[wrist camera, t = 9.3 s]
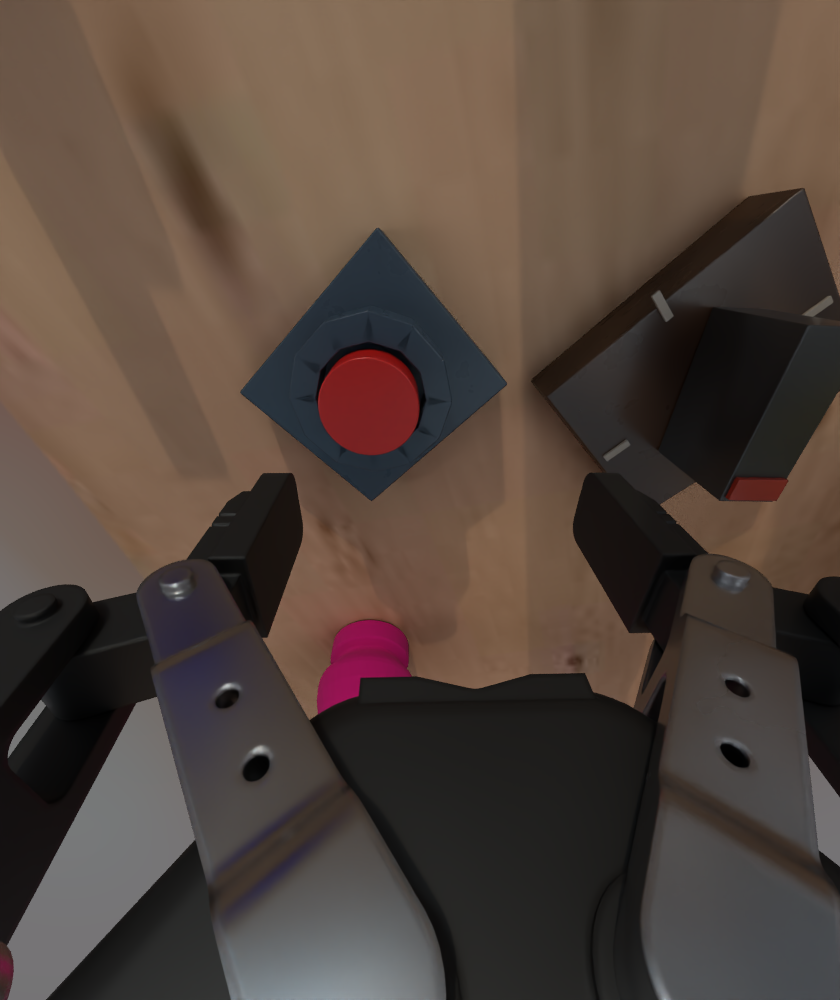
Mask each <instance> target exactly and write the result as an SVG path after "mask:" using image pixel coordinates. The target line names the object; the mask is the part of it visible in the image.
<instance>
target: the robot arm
mask: <svg viewBox="0 0 840 1000" xmlns="http://www.w3.org/2000/svg"><path fill="white" fill-rule="evenodd" d="M573 533H574V538H575V541H576V543H577V544H578V546H579V548H580V550H581V551H582V553H583V555H584V556H585V558H586V560H587V562H588V563H589V565H590V567H591V568H592V570H593V572H594V573H595V575H596V577H597V579H598V580H599V582H600V584H601V585H602V587H603V589H604V591H605V592H606V594H607V596H608V597H609V599H610V601H611V602H612V604H613V606H614V608H615V609H616V611H617V613H618V614H619V616H620V618H621V620H622V621H623V623H624V625H625V626H626V628H627V630H628V631H629V633H652V635H653V636H654V640H653V642H652V644H651V646H650V649H649V652H648V656H647V660H646V663H645V667H644V671H643V675H642V678H641V682H640V686H639V690H638V693H637V697H636V701H635V705H634V708H632V707H630V706H629V705H627V704H625V703H622V702H620V701H618V700H615V699H613V698H610V697H607V696H604V695H601V694H598V693H594V692H593V691H592V689H591V686H590V684H589V682H588V679H587V677H586V675H585V673H570V674H530V675H526V676H523V677H519V678H516V679H512V680H508V681H505V682H501V683H498V684H494V685H491V686H487V687H484V688H479V689H471V688H466V687H462V686H457V685H453V684H448V683H443V682H439V681H434V680H430V679H425V678H421V677H366V678H360V687H359V696H357V697H353V698H350V699H347V700H345V701H342V702H340V703H337V704H335V705H333V706H331V707H329V708H328V709H326V710H324V711H322V712H321V713H319V714H318V715H316V716H315V717H313V718H312V719H311V720H309V719H308V717H307V716H306V714H305V712H304V710H303V709H302V707H301V705H300V703H299V702H298V700H297V698H296V696H295V695H294V693H293V691H292V689H291V688H290V686H289V684H288V682H287V681H286V679H285V677H284V675H283V674H282V672H281V670H280V669H279V667H278V665H277V663H276V662H275V660H274V658H273V656H272V655H271V653H270V651H269V649H268V648H267V646H266V644H265V642H264V641H263V639H262V638H267V637H268V634H269V632H270V629H271V626H272V623H273V621H274V618H275V615H276V612H277V609H278V607H279V604H280V601H281V598H282V595H283V593H284V590H285V587H286V584H287V581H288V579H289V576H290V573H291V570H292V568H293V565H294V562H295V559H296V556H297V554H298V551H299V548H300V545H301V542H302V536H303V522H302V516H301V510H300V504H299V499H298V493H297V487H296V482H295V478H294V476H293V474H292V473H263V474H262V475H261V476H260V478H259V479H258V481H257V482H256V484H255V485H254V487H253V489H252V490H251V491H243V492H241V493H240V494H238V495H237V496H235V497H234V498H232V499H231V500H229V501H228V502H227V503H226V505H225V506H224V508H223V509H222V510H221V512H220V513H219V516H217V517H216V519H215V520H214V522H213V523H212V527H209V529H208V530H207V531H206V533H205V534H204V536H203V537H202V538H201V540H200V541H199V543H198V544H197V545H196V547H195V548H194V550H193V551H192V552H191V554H190V555H189V557H188V558H187V559H186V560H182V561H177V562H174V563H171V564H168V565H166V566H164V567H162V568H160V569H158V570H156V571H155V572H153V573H152V574H150V575H149V576H148V577H147V578H146V579H145V580H144V581H143V582H142V583H141V584H140V586H139V588H138V590H137V592H136V593H133V594H128V595H124V596H119V597H115V598H110V599H106V600H101V601H97V602H92V601H91V599H90V597H89V596H88V594H87V592H86V591H85V589H83V588H82V587H80V586H77V585H57V586H52V587H48V588H44V589H41V590H38V591H35V592H32V593H30V594H28V595H25V596H23V597H21V598H20V599H18V600H16V601H15V602H13V603H11V604H9V605H8V606H7V607H5V608H4V609H2V610H1V611H0V1000H7V999H8V996H9V992H10V989H11V985H12V980H13V972H14V969H13V968H14V967H13V958H12V955H11V951H10V950H9V948H8V947H7V944H8V943H9V941H10V939H11V937H12V935H13V933H14V931H15V929H16V927H17V926H18V923H19V922H20V920H21V918H22V916H23V914H24V913H25V910H26V909H27V907H28V905H29V903H30V901H31V899H32V898H33V896H34V894H35V892H36V890H37V888H38V886H39V884H40V883H41V881H42V879H43V877H44V875H45V873H46V871H47V869H48V868H49V866H50V864H51V862H52V860H53V858H54V856H55V854H56V852H57V851H58V849H59V847H60V845H61V843H62V841H63V839H64V838H65V836H66V834H67V832H68V830H69V828H70V826H71V824H72V823H73V821H74V819H75V817H76V815H77V813H78V811H79V809H80V808H81V806H82V804H83V802H84V800H85V798H86V796H87V794H88V793H89V791H90V789H91V787H92V785H93V783H94V781H95V779H96V778H97V776H98V774H99V772H100V770H101V768H102V766H103V764H104V763H105V761H106V758H107V757H108V755H109V753H110V751H111V749H112V747H113V746H114V744H115V742H116V740H117V738H118V736H119V734H120V732H121V730H122V729H123V727H124V725H125V723H126V721H127V719H128V717H129V715H130V714H131V712H132V710H133V708H134V706H135V704H136V703H137V702H141V701H144V700H147V699H151V698H154V697H157V698H158V701H159V705H160V709H161V713H162V716H163V720H164V724H165V728H166V731H167V735H168V739H169V743H170V746H171V750H172V754H173V758H174V761H175V765H176V769H177V772H178V776H179V780H180V784H181V788H182V791H183V795H184V799H185V802H186V806H187V810H188V814H189V818H190V821H191V825H192V829H193V832H194V836H195V841H194V842H193V843H192V844H191V845H190V846H189V847H188V848H187V849H186V850H185V851H184V852H183V853H182V855H180V857H179V858H178V859H177V860H176V861H175V862H174V863H173V864H172V865H171V866H170V867H169V868H168V869H167V871H166V872H165V873H164V874H163V875H162V876H161V877H160V878H159V879H158V880H157V881H156V882H155V884H153V886H152V887H151V888H150V889H149V890H148V891H147V892H146V893H145V894H144V895H143V896H142V897H141V898H140V899H139V901H138V902H137V903H136V904H135V905H134V906H133V907H132V908H131V909H130V910H129V911H128V912H127V913H126V915H125V916H124V917H123V918H122V919H121V920H120V921H119V922H118V923H117V924H116V925H115V926H114V927H113V929H112V930H111V931H110V932H109V933H108V934H107V935H106V936H105V937H104V938H103V939H102V940H101V941H100V942H99V943H98V945H97V946H96V947H95V948H94V949H93V950H92V951H91V952H90V953H89V954H88V955H87V956H86V957H85V959H84V960H83V961H82V962H81V963H80V964H79V965H78V966H77V967H76V968H75V969H74V970H73V972H71V974H70V975H69V976H68V977H67V978H66V979H65V980H64V981H63V982H62V983H61V984H60V985H59V986H58V987H57V989H56V990H55V991H54V992H53V993H52V994H51V995H50V996H49V997H48V998H47V999H46V1000H840V867H839V866H838V865H837V864H836V863H834V862H833V861H832V860H830V859H829V858H828V857H827V856H825V855H824V854H823V853H821V852H820V851H819V850H818V841H817V833H816V822H815V813H814V804H813V795H812V786H811V777H810V768H809V758H808V755H809V756H810V758H811V759H812V760H813V762H814V763H815V764H816V766H817V767H818V769H819V770H820V771H821V773H822V774H823V775H824V777H825V778H826V779H827V781H828V782H829V783H830V785H831V786H832V787H833V789H834V790H835V791H836V793H837V794H838V795H839V797H840V577H825V578H822V579H820V580H819V581H818V583H817V584H816V585H815V587H814V588H813V590H812V591H811V592H810V594H804V593H798V592H793V591H788V590H783V589H778V588H773V587H772V585H771V583H770V582H769V581H768V579H767V578H766V577H765V576H764V575H763V574H761V573H760V572H759V571H757V570H756V569H754V568H753V567H751V566H749V565H747V564H746V563H743V562H741V561H739V560H736V559H733V558H730V557H727V556H723V555H717V554H708V553H707V552H706V551H705V550H704V549H703V548H702V547H701V546H700V545H699V544H698V543H697V542H696V541H695V540H694V539H693V538H692V537H691V536H690V535H689V534H688V533H687V532H686V531H685V530H684V529H683V528H682V527H681V526H680V525H679V524H676V521H675V520H674V519H673V518H672V517H671V516H670V515H669V514H666V511H665V510H664V509H663V508H662V507H661V506H660V505H659V504H658V503H657V502H656V501H655V500H654V499H652V498H650V497H648V496H647V495H645V494H643V493H641V492H640V491H638V490H635V489H634V488H633V487H632V486H631V485H630V484H629V483H628V482H627V481H626V480H625V479H624V478H623V477H622V475H620V474H619V473H589V474H587V476H586V477H585V479H584V482H583V486H582V490H581V494H580V497H579V501H578V505H577V509H576V513H575V517H574V521H573ZM40 700H42V701H43V702H44V703H45V705H46V707H45V708H44V710H43V711H42V712H41V714H40V715H39V716H38V718H37V719H36V720H35V722H34V723H33V725H32V726H31V727H30V729H29V730H28V732H27V733H26V734H25V736H24V737H23V738H22V740H21V741H20V742H19V744H18V745H17V747H16V748H15V750H14V751H13V752H12V754H11V755H10V756H9V758H8V750H9V746H10V744H11V741H12V739H13V737H14V735H15V734H16V732H17V731H18V729H19V728H20V727H21V725H22V724H23V723H24V721H25V720H26V719H27V717H28V716H29V715H30V713H31V712H32V710H33V709H34V708H35V706H36V705H37V704H38V703H39V701H40Z"/></svg>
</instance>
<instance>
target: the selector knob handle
mask: <svg viewBox="0 0 840 1000" xmlns="http://www.w3.org/2000/svg"><path fill="white" fill-rule="evenodd" d="M839 389H840V321H836V320H830V319H824V318H818V317H812V316H806V315H800V314H793V313H787V312H781V311H775V310H769V309H757V308H729V307H713V309H712V311H711V314H710V317H709V319H708V322H707V325H706V327H705V330H704V332H703V335H702V338H701V340H700V343H699V346H698V348H697V351H696V353H695V356H694V359H693V361H692V364H691V366H690V369H689V372H688V374H687V377H686V380H685V382H684V385H683V387H682V390H681V393H680V395H679V398H678V400H677V403H676V406H675V408H674V411H673V414H672V416H671V419H670V421H669V424H668V427H667V429H666V432H665V434H664V437H663V440H662V442H661V445H660V448H659V450H658V452H660V453H661V454H662V455H663V456H664V457H666V458H667V459H668V460H669V461H671V462H672V463H673V464H674V465H676V466H677V467H678V468H679V469H681V470H682V471H683V472H684V473H686V474H687V475H688V476H689V477H691V478H692V479H693V480H694V481H696V482H697V483H698V484H699V485H701V486H702V487H703V488H704V489H706V490H707V491H708V492H709V493H711V494H712V495H713V496H714V497H716V498H717V499H718V500H719V501H764V502H772V501H777V499H778V498H779V496H780V494H781V493H782V491H783V489H784V488H785V486H786V484H787V482H788V480H787V477H788V475H789V474H790V472H791V470H792V469H793V467H794V465H795V464H796V462H797V460H798V458H799V457H800V455H801V453H802V452H803V450H804V448H805V447H806V445H807V443H808V442H809V440H810V438H811V436H812V435H813V433H814V431H815V430H816V428H817V426H818V425H819V423H820V421H821V420H822V418H823V416H824V415H825V413H826V411H827V409H828V408H829V406H830V404H831V403H832V401H833V399H834V398H835V396H836V394H837V393H838V391H839Z"/></svg>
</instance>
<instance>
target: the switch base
mask: <svg viewBox="0 0 840 1000" xmlns="http://www.w3.org/2000/svg"><path fill="white" fill-rule="evenodd" d="M713 307H729V308H757V309H769V310H775V311H781V312H787V313H793V314H800V315H806V316H812V317H818V318H824V319H830V320H836V321H840V296H839V293H838V290H837V287H836V284H835V281H834V278H833V275H832V272H831V269H830V266H829V263H828V260H827V257H826V253H825V250H824V247H823V244H822V241H821V238H820V235H819V232H818V229H817V226H816V223H815V220H814V217H813V214H812V210H811V207H810V204H809V201H808V198H807V195H806V192H805V189H804V188H799V189H793V190H787V191H780V192H774V193H767V194H761V195H755V196H749V197H748V198H747V199H745V200H744V201H743V202H742V203H741V204H739V205H738V206H737V207H736V208H735V209H734V210H732V211H731V212H730V213H729V214H728V215H726V216H725V217H724V218H723V219H722V220H721V221H719V222H718V223H717V224H716V225H715V226H713V227H712V228H711V229H710V230H709V231H708V232H706V233H705V234H704V235H703V236H702V237H700V238H699V239H698V240H697V241H696V242H694V243H693V244H692V245H691V246H690V247H689V248H687V249H686V250H685V251H684V252H683V253H681V254H680V255H679V256H678V257H677V258H676V259H674V260H673V261H672V262H671V263H670V264H668V265H667V266H666V267H665V268H664V269H662V270H661V271H660V272H659V273H658V274H657V275H655V276H654V277H653V278H652V279H651V280H649V281H648V282H647V283H646V284H645V285H644V286H642V287H641V288H640V289H639V290H638V291H636V292H635V293H634V294H633V295H632V296H631V297H629V298H628V299H627V300H626V301H625V302H623V303H622V304H621V305H620V306H619V307H617V308H616V309H615V310H614V311H613V312H612V313H610V314H609V315H608V316H607V317H606V318H604V319H603V320H602V321H601V322H600V323H599V324H597V325H596V326H595V327H594V328H593V329H591V330H590V331H589V332H588V333H587V334H585V335H584V336H583V337H582V338H581V339H580V340H578V341H577V342H576V343H575V344H574V345H572V346H571V347H570V348H569V349H568V350H567V351H565V352H564V353H563V354H562V355H561V356H559V357H558V358H557V359H556V360H555V361H554V362H552V363H551V364H550V365H549V366H548V367H546V368H545V369H544V370H543V371H542V372H540V373H539V374H538V375H537V376H536V377H535V378H533V379H532V380H531V382H532V383H533V384H534V386H535V387H536V388H537V389H538V391H539V392H540V393H541V395H542V396H543V397H544V398H545V400H546V401H547V402H548V403H549V405H550V406H551V407H552V408H553V410H554V411H555V412H556V414H557V415H558V416H559V417H560V419H561V420H562V421H563V422H564V424H565V425H566V426H567V427H568V429H569V430H570V431H571V433H572V434H573V435H574V436H575V438H576V439H577V440H578V441H579V443H580V444H581V445H582V446H583V448H584V449H585V450H586V452H587V453H588V454H589V455H590V457H591V458H592V459H593V460H594V462H595V463H596V464H597V465H598V467H599V468H600V469H601V471H602V472H603V473H619V474H620V475H622V477H623V478H624V479H625V480H626V481H627V482H628V483H629V484H630V485H631V486H632V487H633V488H634V489H635V490H638V491H640V492H641V493H643V494H645V495H647V496H648V497H650V498H652V499H654V500H655V501H656V502H657V503H658V504H659V505H660V504H661V503H663V502H664V501H666V500H668V499H669V498H671V497H672V496H674V495H675V494H677V493H679V492H680V491H682V490H683V489H685V488H687V487H688V486H690V485H691V484H693V483H695V482H696V481H694V480H693V479H692V478H691V477H689V476H688V475H687V474H686V473H684V472H683V471H682V470H681V469H679V468H678V467H677V466H676V465H674V464H673V463H672V462H671V461H669V460H668V459H667V458H666V457H664V456H663V455H662V454H661V453H660V452H658V450H659V448H660V445H661V442H662V440H663V437H664V434H665V432H666V429H667V427H668V424H669V421H670V419H671V416H672V414H673V411H674V408H675V406H676V403H677V400H678V398H679V395H680V393H681V390H682V387H683V385H684V382H685V380H686V377H687V374H688V372H689V369H690V366H691V364H692V361H693V359H694V356H695V353H696V351H697V348H698V346H699V343H700V340H701V338H702V335H703V332H704V330H705V327H706V325H707V322H708V319H709V317H710V314H711V311H712V309H713ZM839 391H840V389H839ZM839 391H838V392H839Z"/></svg>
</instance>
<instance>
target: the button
mask: <svg viewBox="0 0 840 1000" xmlns="http://www.w3.org/2000/svg"><path fill="white" fill-rule="evenodd" d="M318 410H319V415H320V419H321V422H322V424H323V426H324V428H325V429H326V431H327V432H328V434H329V435H330V436H331V437H332V438H333V439H334V440H335V441H336V442H337V443H338V444H339V445H341V446H342V447H344V448H346V449H348V450H350V451H352V452H355V453H358V454H363V455H380V454H385V453H388V452H391V451H393V450H395V449H397V448H398V447H400V446H401V445H403V444H404V443H405V442H406V441H407V440H408V439H409V438H410V436H411V435H412V433H413V432H414V430H415V428H416V425H417V423H418V419H419V411H420V408H419V393H418V387H417V384H416V381H415V378H414V376H413V374H412V373H411V371H410V370H409V368H408V367H407V366H406V365H405V364H404V363H403V362H402V361H401V360H400V359H398V358H397V357H396V356H394V355H392V354H390V353H388V352H385V351H382V350H378V349H361V350H356V351H353V352H351V353H349V354H347V355H345V356H343V357H342V358H341V359H339V360H338V361H337V362H336V363H335V365H334V366H333V367H332V368H331V370H330V372H329V373H328V375H327V376H326V378H325V380H324V381H323V383H322V386H321V388H320V391H319V396H318Z"/></svg>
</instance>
